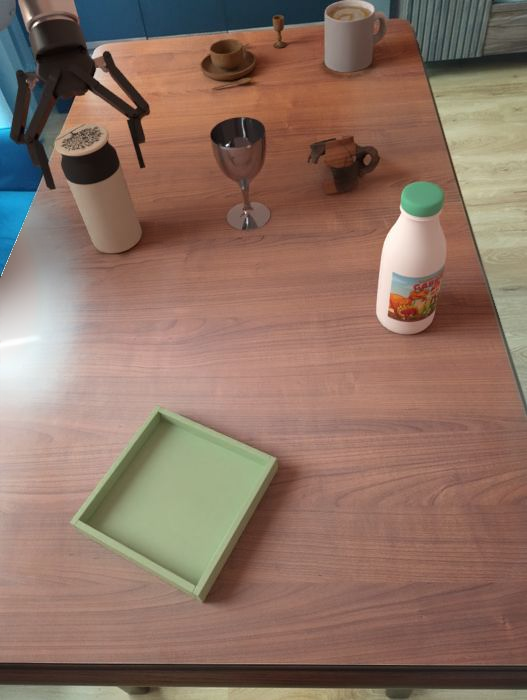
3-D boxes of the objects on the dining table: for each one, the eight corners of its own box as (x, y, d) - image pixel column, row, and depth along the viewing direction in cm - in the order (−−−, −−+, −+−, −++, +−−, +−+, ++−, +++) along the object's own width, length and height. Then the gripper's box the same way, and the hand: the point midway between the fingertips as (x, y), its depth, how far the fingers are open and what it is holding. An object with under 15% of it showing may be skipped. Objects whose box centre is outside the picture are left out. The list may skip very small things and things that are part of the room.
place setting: (197, 55, 131) (192, 28, 127) (284, 40, 132) (282, 12, 128) (206, 93, 120) (201, 65, 116) (301, 76, 121) (300, 47, 117)
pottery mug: (307, 199, 97) (298, 147, 94) (321, 189, 105) (313, 141, 102) (379, 187, 92) (372, 132, 89) (388, 177, 100) (381, 127, 97)
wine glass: (214, 216, 96) (199, 133, 84) (251, 194, 98) (241, 110, 87) (244, 239, 91) (233, 155, 80) (283, 215, 94) (276, 130, 82)
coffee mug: (330, 75, 121) (331, 24, 113) (319, 54, 127) (319, 4, 119) (393, 65, 121) (398, 13, 113) (380, 44, 127) (383, -7, 119)
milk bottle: (365, 322, 79) (374, 202, 63) (391, 286, 83) (405, 164, 67) (418, 344, 76) (442, 223, 60) (443, 306, 79) (471, 182, 64)
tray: (77, 531, 64) (69, 522, 62) (161, 415, 72) (156, 404, 70) (202, 603, 58) (198, 596, 56) (278, 468, 67) (277, 458, 65)
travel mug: (151, 238, 93) (120, 136, 79) (108, 262, 91) (68, 161, 77) (126, 215, 98) (92, 115, 84) (84, 237, 95) (42, 138, 81)
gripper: (141, 23, 89) (179, 162, 91) (-24, 58, 86) (19, 201, 89) (137, -2, 81) (179, 150, 84) (-44, 36, 79) (4, 192, 81)
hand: (97, 177), depth 86 cm, fingers open, 13 cm apart
